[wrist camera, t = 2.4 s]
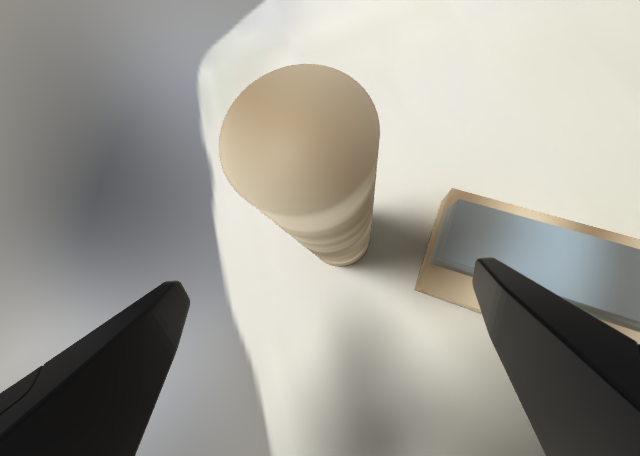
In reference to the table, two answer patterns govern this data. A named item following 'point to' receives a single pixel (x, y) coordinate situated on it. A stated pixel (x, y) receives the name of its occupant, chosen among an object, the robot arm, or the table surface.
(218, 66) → the table surface
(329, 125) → the maple post
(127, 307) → the robot arm
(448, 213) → the ridge rail
